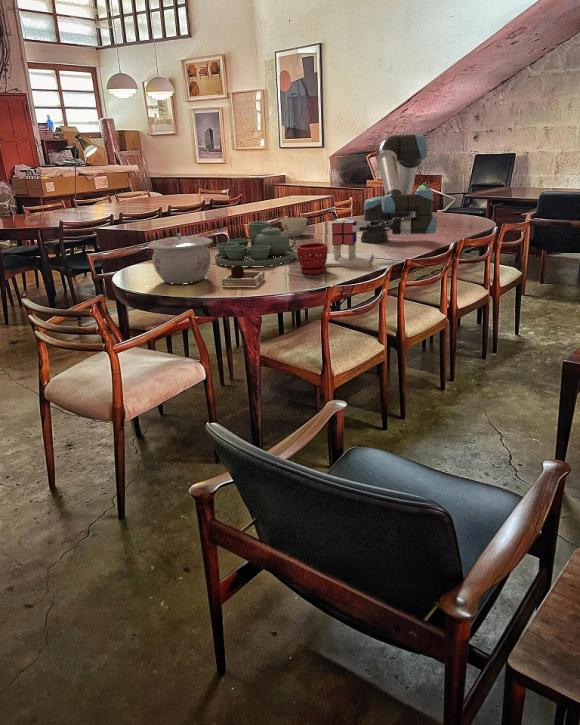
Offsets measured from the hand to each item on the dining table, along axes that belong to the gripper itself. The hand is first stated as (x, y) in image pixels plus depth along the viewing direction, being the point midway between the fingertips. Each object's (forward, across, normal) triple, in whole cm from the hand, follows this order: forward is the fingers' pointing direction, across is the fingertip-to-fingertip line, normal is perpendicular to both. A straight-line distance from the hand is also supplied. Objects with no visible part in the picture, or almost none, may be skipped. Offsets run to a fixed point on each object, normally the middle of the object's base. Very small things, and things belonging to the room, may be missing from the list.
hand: (354, 226), depth 267 cm
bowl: (+46, +76, -16) cm, 90 cm away
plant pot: (+16, -23, -16) cm, 32 cm away
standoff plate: (+5, 0, -16) cm, 17 cm away
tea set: (+50, +4, -17) cm, 52 cm away
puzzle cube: (+5, 0, -8) cm, 9 cm away
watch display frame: (+40, -45, -16) cm, 63 cm away
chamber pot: (+68, -41, -16) cm, 82 cm away
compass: (+41, -43, -16) cm, 61 cm away
